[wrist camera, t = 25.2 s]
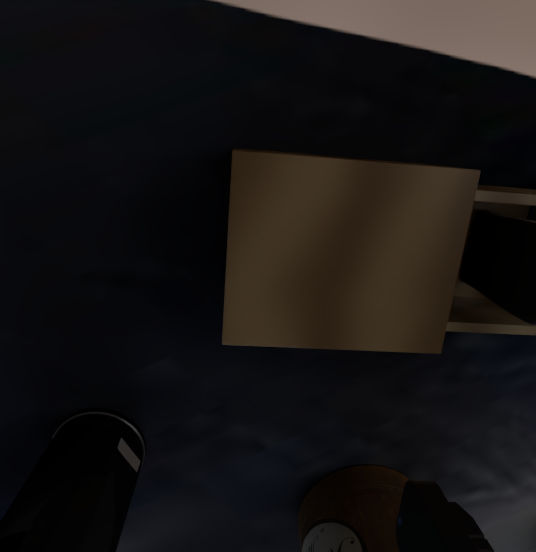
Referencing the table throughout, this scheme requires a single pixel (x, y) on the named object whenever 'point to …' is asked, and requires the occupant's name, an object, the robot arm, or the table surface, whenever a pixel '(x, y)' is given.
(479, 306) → the drawer
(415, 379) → the table surface
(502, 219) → the battery charger
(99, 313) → the table surface
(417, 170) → the cabinet
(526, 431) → the table surface
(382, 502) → the wooden container
